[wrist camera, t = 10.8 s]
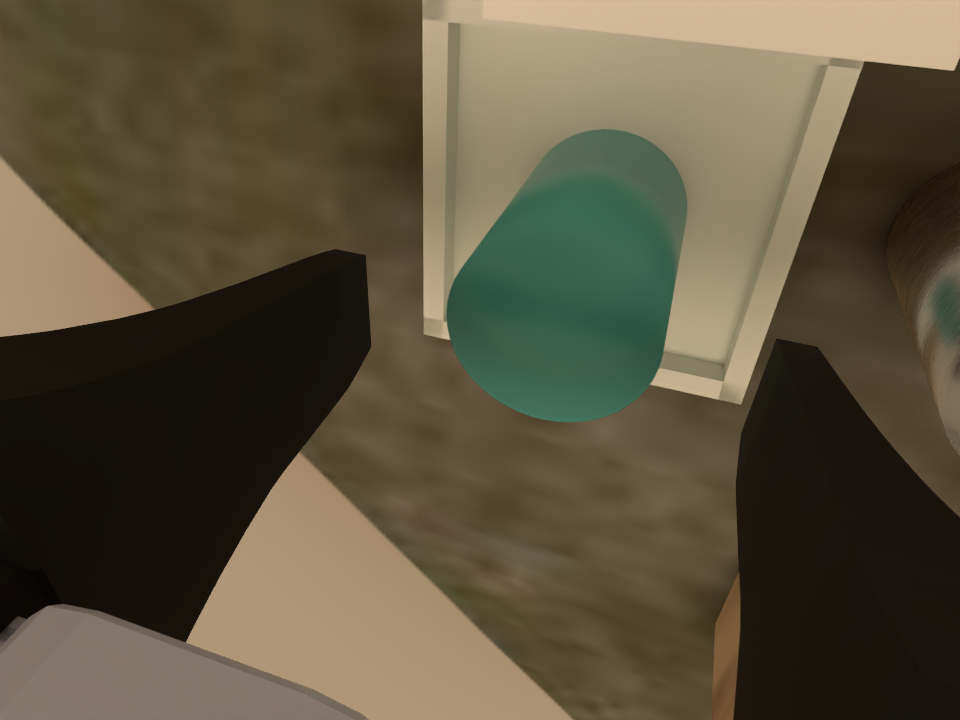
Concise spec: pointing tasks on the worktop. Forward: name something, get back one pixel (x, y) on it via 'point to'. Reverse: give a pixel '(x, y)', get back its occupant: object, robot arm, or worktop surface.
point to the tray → (662, 121)
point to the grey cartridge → (932, 286)
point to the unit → (767, 25)
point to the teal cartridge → (574, 281)
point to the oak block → (726, 655)
